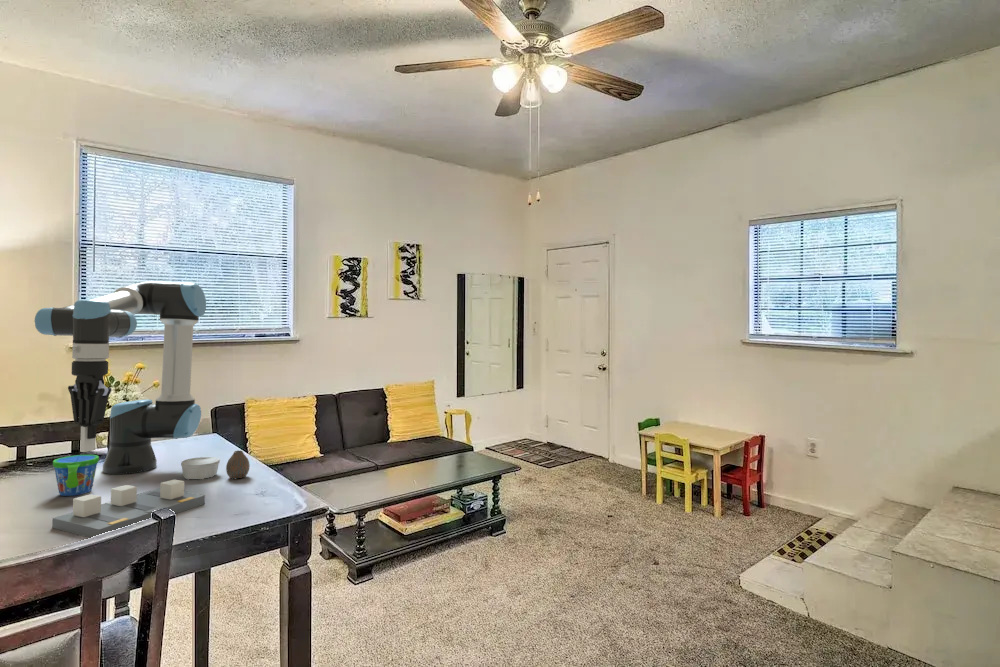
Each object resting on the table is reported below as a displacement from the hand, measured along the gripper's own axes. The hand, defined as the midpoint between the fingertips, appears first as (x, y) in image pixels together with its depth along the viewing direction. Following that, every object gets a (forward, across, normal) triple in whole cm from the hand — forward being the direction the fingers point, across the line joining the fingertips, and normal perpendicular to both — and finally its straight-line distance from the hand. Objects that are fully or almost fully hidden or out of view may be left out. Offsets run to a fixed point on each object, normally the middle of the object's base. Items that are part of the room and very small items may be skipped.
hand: (87, 450), depth 137 cm
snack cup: (+17, -22, +11) cm, 30 cm away
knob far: (+14, +13, +14) cm, 24 cm away
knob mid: (+14, +6, +5) cm, 17 cm away
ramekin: (+17, -5, +39) cm, 42 cm away
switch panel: (+17, +10, +5) cm, 20 cm away
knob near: (+15, +6, -4) cm, 16 cm away
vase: (+17, +7, +42) cm, 46 cm away
